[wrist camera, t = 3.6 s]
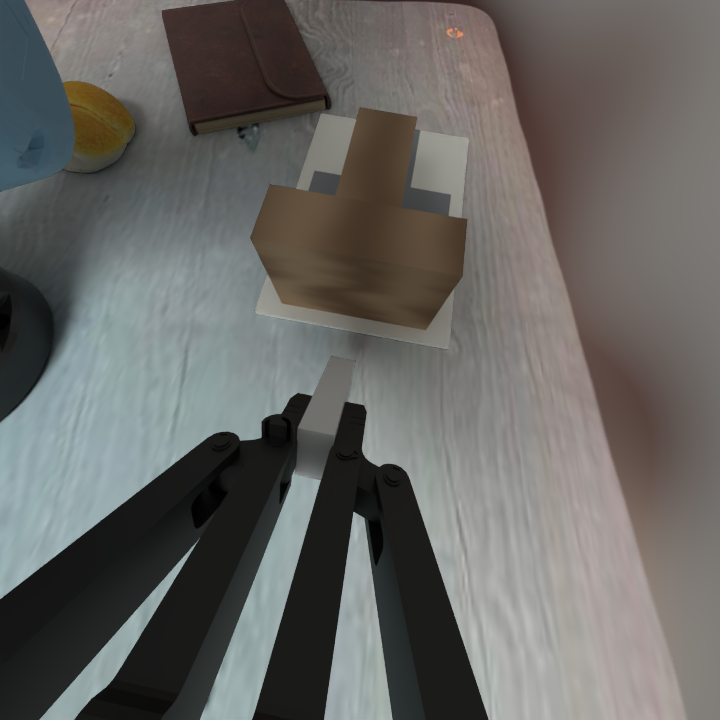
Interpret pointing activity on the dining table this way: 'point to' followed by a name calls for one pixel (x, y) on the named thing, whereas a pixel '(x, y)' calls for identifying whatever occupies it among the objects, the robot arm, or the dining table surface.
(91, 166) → the bread roll
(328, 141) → the mat
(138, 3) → the dining table surface
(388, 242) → the t block
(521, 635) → the dining table surface
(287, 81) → the notebook
